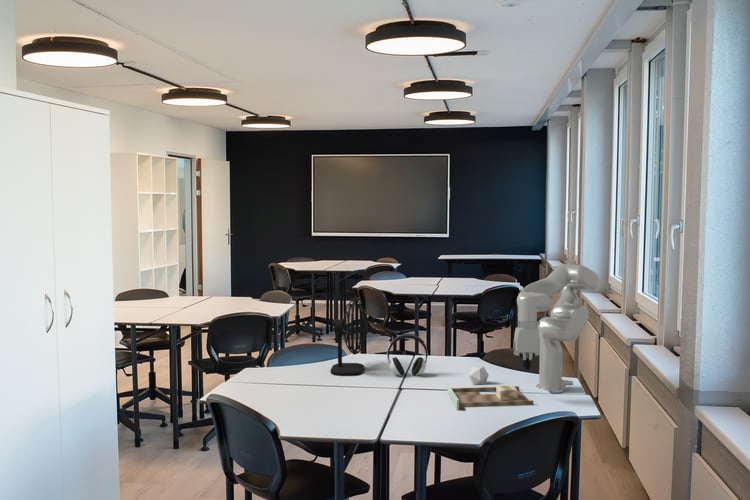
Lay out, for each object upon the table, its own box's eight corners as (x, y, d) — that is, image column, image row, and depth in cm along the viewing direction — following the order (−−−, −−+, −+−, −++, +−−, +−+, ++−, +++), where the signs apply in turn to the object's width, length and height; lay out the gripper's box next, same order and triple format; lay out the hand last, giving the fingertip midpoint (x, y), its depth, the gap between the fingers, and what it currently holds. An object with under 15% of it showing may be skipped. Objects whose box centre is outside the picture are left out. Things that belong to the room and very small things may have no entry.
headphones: (427, 373, 336) (426, 331, 334) (428, 377, 327) (428, 335, 326) (386, 373, 335) (386, 332, 334) (387, 378, 327) (387, 335, 325)
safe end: (449, 394, 299) (449, 385, 299) (458, 409, 278) (458, 399, 277) (447, 394, 299) (447, 385, 299) (456, 409, 278) (456, 400, 277)
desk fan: (365, 378, 327) (364, 303, 324) (327, 377, 328) (326, 303, 326) (369, 364, 354) (368, 295, 351) (334, 364, 355) (334, 295, 353)
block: (512, 394, 294) (512, 385, 293) (517, 399, 287) (517, 390, 286) (496, 395, 293) (496, 385, 293) (500, 400, 286) (500, 390, 286)
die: (483, 389, 309) (493, 370, 312) (466, 379, 311) (476, 360, 313) (480, 390, 317) (490, 372, 320) (463, 380, 318) (474, 362, 321)
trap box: (518, 392, 301) (518, 386, 301) (533, 407, 280) (533, 400, 280) (449, 394, 299) (449, 388, 299) (458, 409, 278) (458, 403, 277)
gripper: (542, 323, 292) (541, 366, 293) (506, 323, 291) (506, 367, 292) (548, 326, 285) (547, 371, 286) (511, 326, 284) (511, 371, 285)
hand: (526, 369), depth 289 cm, fingers closed
